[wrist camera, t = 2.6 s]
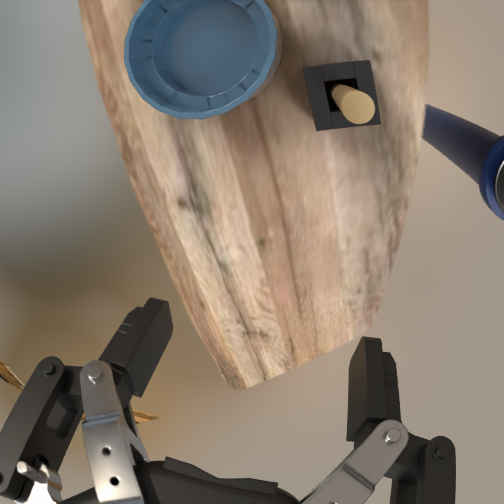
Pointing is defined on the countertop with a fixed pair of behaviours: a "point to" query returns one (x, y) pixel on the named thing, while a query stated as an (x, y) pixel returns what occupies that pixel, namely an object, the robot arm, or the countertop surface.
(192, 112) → the bowl
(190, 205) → the countertop surface
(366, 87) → the holder
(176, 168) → the countertop surface
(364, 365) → the robot arm
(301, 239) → the countertop surface
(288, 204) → the countertop surface
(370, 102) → the stick
